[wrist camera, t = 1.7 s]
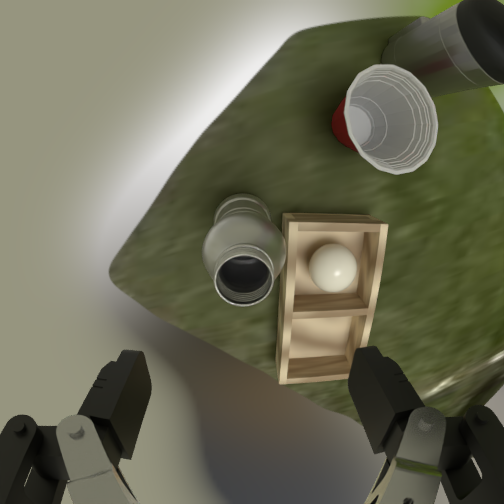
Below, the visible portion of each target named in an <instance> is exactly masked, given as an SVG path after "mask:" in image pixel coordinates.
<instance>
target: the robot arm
mask: <svg viewBox="0 0 504 504" xmlns="http://www.w3.org/2000/svg"><path fill="white" fill-rule="evenodd" d="M388 40H389V44H388V46H387V47H386V48H385V49H384V52H383V54H382V59H381V60H382V65H395V66H398V67H400V68H402V69H404V70H406V71H409V72H411V73H412V74H413V75H414V76H415V77H416V78H417V79H418V80H419V81H420V82H421V83H422V84H423V85H424V86H425V87H426V89H427V91H428V93H429V95H430V97H436V96H441V95H445V94H450V93H455V92H460V91H465V90H471V89H476V88H482V87H488V86H494V85H501V84H504V5H503V4H502V3H500V2H499V1H497V0H463V1H462V2H460V3H458V4H456V5H454V6H452V7H450V8H449V9H447V10H445V11H443V12H442V13H440V14H438V15H436V16H435V17H433V18H431V19H429V18H427V17H420V18H419V19H417V20H416V21H414V22H412V23H411V24H409V25H408V26H406V27H405V28H403V29H402V30H400V31H399V32H398V33H396V34H395V35H393V36H392V37H390V38H389V39H388ZM348 388H349V392H350V395H351V397H352V400H353V402H354V405H355V407H356V409H357V412H358V414H359V417H360V419H361V422H362V424H363V427H364V429H365V432H366V434H367V437H368V439H369V442H370V444H371V447H372V449H373V452H374V454H377V453H381V452H385V453H386V456H387V457H386V459H385V461H384V463H383V466H382V468H381V470H380V473H379V475H378V477H377V479H376V481H375V483H374V486H373V487H372V489H371V491H370V494H369V495H368V498H367V499H366V501H365V503H364V504H434V502H435V499H436V495H437V492H438V488H439V484H440V481H441V483H442V485H443V488H444V490H445V493H446V495H447V498H448V500H449V503H450V504H504V427H503V425H502V424H501V422H500V421H499V420H498V418H497V416H496V415H495V414H494V412H493V411H492V410H491V409H489V408H488V407H485V406H482V405H475V406H472V407H470V408H469V409H468V410H467V412H466V414H465V415H464V416H463V417H444V415H443V414H442V413H441V412H440V411H439V410H437V409H435V408H432V407H425V405H424V404H423V402H422V401H421V399H420V397H419V396H418V394H417V393H416V391H415V390H414V388H413V387H412V385H411V383H410V382H409V381H408V379H407V377H406V376H405V374H403V371H402V370H401V368H400V367H399V365H398V364H397V363H396V362H395V361H393V360H392V359H390V358H389V357H383V356H382V354H381V353H380V351H379V350H378V348H377V347H376V346H369V347H361V348H356V350H355V352H354V356H353V361H352V365H351V369H350V373H349V377H348ZM151 390H152V386H151V379H150V375H149V372H148V368H147V364H146V360H145V356H144V353H143V352H142V351H133V350H123V351H122V352H121V354H120V356H119V358H118V359H117V361H116V362H114V361H111V362H109V363H108V364H107V365H106V366H104V367H103V368H102V369H101V371H100V373H99V375H98V377H97V380H95V382H94V384H93V387H92V388H91V389H90V391H89V393H88V395H87V397H86V398H85V400H84V402H83V404H82V406H81V408H80V410H79V412H78V414H77V415H71V416H68V417H66V418H64V419H63V420H62V421H61V422H60V423H59V424H58V426H38V425H37V424H36V422H35V421H34V420H33V418H31V417H30V416H28V415H17V416H15V417H13V418H11V419H10V420H9V421H8V422H7V424H6V426H5V427H4V429H3V431H2V433H1V434H0V504H61V501H62V497H63V494H64V490H65V487H66V484H67V487H68V491H69V493H70V496H71V499H72V501H73V504H140V503H139V501H138V500H137V498H136V496H135V495H134V493H133V491H132V489H131V488H130V486H129V484H128V482H127V481H126V479H125V477H124V475H123V473H122V471H121V470H120V468H119V466H118V464H119V462H120V458H124V459H130V460H131V458H132V455H133V451H134V448H135V444H136V441H137V438H138V434H139V431H140V428H141V424H142V421H143V418H144V415H145V412H146V409H147V405H148V402H149V399H150V396H151ZM473 456H474V458H475V460H476V462H477V464H478V466H479V468H480V470H481V472H482V479H481V477H480V475H479V473H478V471H477V469H476V467H475V465H474V463H473V461H472V459H471V458H472V457H473ZM31 467H32V469H31ZM30 469H31V472H30ZM29 472H30V474H29ZM28 474H29V477H28ZM27 477H28V480H27V482H26V479H27ZM68 480H70V482H67V481H68ZM25 482H26V485H25ZM24 485H25V487H24Z"/></svg>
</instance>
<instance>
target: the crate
mask: <svg viewBox="0 0 504 504" xmlns="http://www.w3.org/2000/svg"><path fill="white" fill-rule="evenodd" d="M387 230H388V224H387V223H385V222H383V221H381V220H379V219H377V218H375V217H373V216H371V215H355V214H322V213H282V235H283V237H284V239H285V243H286V259H285V263H284V265H283V268H282V270H281V272H280V290H279V310H278V328H277V345H276V360H275V361H276V367H277V374H278V380H279V384H293V383H307V382H319V381H329V380H339V379H347V378H348V377H349V373H350V369H351V365H352V361H353V356H354V352H355V350H356V348H361V347H366V346H367V342H368V338H369V334H370V330H371V325H372V321H373V316H374V311H375V306H376V301H377V296H378V291H379V285H380V279H381V273H382V267H383V260H384V254H385V246H386V239H387ZM332 243H334V244H340V245H343V246H345V247H346V248H348V249H349V250H350V251H351V252H352V254H353V255H354V257H355V259H356V263H357V273H356V276H355V279H354V281H353V282H352V283H351V285H350V286H349V287H347V288H346V289H344V290H342V291H340V292H326V291H323V290H321V289H320V288H318V287H317V286H316V285H315V284H314V283H313V281H312V279H311V277H310V274H309V263H310V259H311V257H312V255H313V254H314V252H315V251H316V250H317V249H318V248H320V247H321V246H324V245H326V244H332Z"/></svg>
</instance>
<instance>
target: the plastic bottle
mask: <svg viewBox="0 0 504 504" xmlns="http://www.w3.org/2000/svg"><path fill="white" fill-rule="evenodd" d="M202 259H203V262H204V266H205V268H206V270H207V271H208V273H209V275H210V276H211V278H212V279H213V280H214V286H215V289H216V291H217V293H218V295H219V296H220V297H221V298H222V299H223V300H225V301H226V302H228V303H230V304H232V305H235V306H242V307H243V306H251V305H255V304H257V303H259V302H261V301H263V300H264V299H265V298H266V297H267V296H268V295H269V293H270V292H271V290H272V288H273V284H274V280H275V279H276V278H277V276H278V275H279V274H280V272H281V270H282V268H283V265H284V263H285V259H286V243H285V239H284V237H283V235H282V233H281V232H280V230H279V229H278V228H277V226H276V225H275V224H274V223H273V222H271V215H270V211H269V209H268V207H267V205H266V204H265V203H264V202H263V201H262V200H261V199H260V198H258V197H256V196H254V195H251V194H245V193H242V194H235V195H232V196H230V197H227V198H226V199H225V200H223V201H222V202H221V203H220V204H219V206H218V207H217V209H216V211H215V214H214V225H213V226H212V227H211V229H210V230H209V232H208V233H207V235H206V237H205V239H204V242H203V247H202Z"/></svg>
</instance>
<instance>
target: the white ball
mask: <svg viewBox="0 0 504 504" xmlns="http://www.w3.org/2000/svg"><path fill="white" fill-rule="evenodd" d="M356 273H357V263H356V259H355V257H354V255H353V254H352V252H351V251H350V250H349V249H348V248H346V247H345V246H343V245H340V244H334V243H332V244H326V245H324V246H321V247H320V248H318V249H317V250H316V251H315V252H314V254H313V255H312V257H311V259H310V263H309V274H310V277H311V279H312V281H313V283H314V284H315V285H316V286H317V287H318V288H320V289H321V290H323V291H326V292H340V291H342V290H344V289H346V288H347V287H349V286H350V285H351V283H352V282H353V281H354V279H355V276H356Z"/></svg>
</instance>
